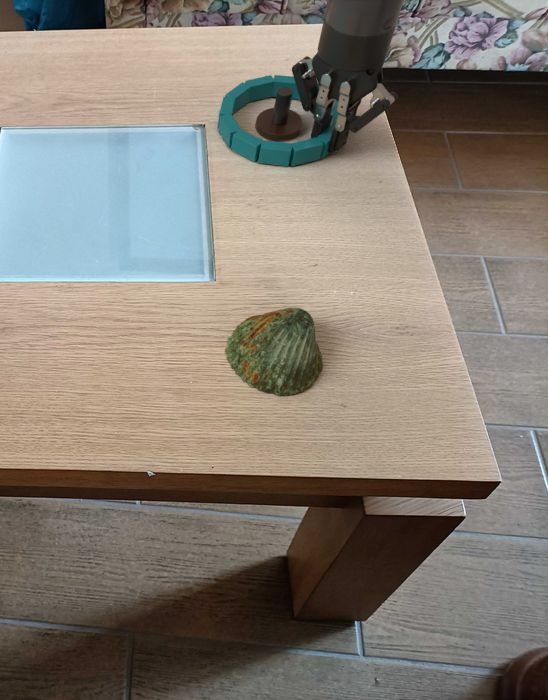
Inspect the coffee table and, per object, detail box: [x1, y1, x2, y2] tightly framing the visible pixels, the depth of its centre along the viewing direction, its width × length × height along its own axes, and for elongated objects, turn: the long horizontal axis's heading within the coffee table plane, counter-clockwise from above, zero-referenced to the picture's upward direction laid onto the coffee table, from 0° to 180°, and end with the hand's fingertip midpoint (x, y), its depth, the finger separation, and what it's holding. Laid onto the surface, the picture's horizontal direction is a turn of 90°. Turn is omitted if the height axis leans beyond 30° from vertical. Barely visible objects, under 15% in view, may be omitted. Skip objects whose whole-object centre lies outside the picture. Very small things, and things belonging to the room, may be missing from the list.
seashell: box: [224, 307, 324, 397], centre depth 68 cm, size 10×4×10 cm
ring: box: [217, 74, 338, 167], centre depth 89 cm, size 16×16×2 cm
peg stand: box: [255, 87, 303, 142], centre depth 88 cm, size 6×6×6 cm
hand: (326, 146), depth 87 cm, fingers closed on ring, 1 cm apart
